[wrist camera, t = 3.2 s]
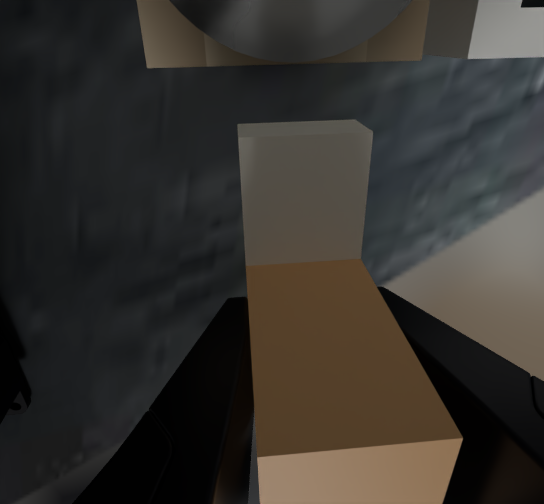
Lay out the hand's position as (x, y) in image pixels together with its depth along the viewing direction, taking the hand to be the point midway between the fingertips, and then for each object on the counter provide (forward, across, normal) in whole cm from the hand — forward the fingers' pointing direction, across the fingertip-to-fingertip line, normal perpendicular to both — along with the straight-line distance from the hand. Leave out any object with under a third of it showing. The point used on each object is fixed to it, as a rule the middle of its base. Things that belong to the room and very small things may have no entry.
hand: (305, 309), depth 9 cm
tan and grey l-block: (+1, 0, -1) cm, 2 cm away
